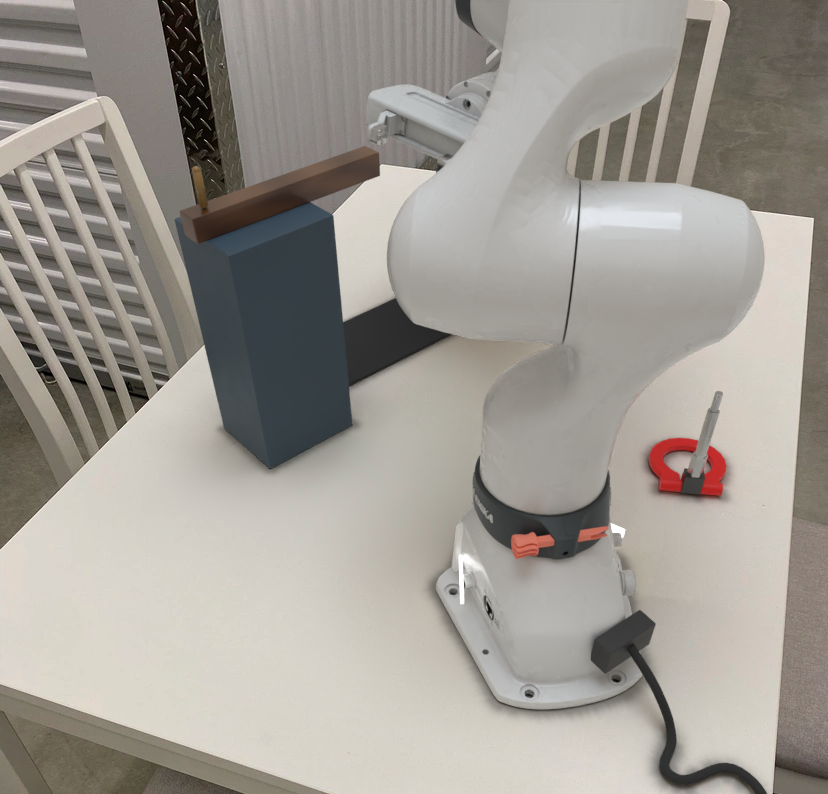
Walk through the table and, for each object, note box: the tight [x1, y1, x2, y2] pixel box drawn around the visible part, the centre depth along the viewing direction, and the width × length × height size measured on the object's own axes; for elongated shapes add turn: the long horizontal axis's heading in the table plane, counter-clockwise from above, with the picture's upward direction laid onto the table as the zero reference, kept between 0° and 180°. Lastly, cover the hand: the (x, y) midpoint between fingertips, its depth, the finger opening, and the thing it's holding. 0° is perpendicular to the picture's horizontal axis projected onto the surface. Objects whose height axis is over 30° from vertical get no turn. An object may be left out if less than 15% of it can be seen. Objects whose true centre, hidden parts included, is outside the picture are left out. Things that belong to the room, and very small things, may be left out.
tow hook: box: [648, 390, 728, 497], centre depth 88 cm, size 8×13×9 cm
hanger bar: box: [179, 145, 381, 244], centre depth 79 cm, size 22×2×6 cm, turn 131°
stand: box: [173, 201, 353, 470], centre depth 89 cm, size 12×10×26 cm
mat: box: [343, 297, 452, 387], centre depth 111 cm, size 20×12×1 cm, turn 131°
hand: (406, 152), depth 87 cm, fingers open, 8 cm apart
